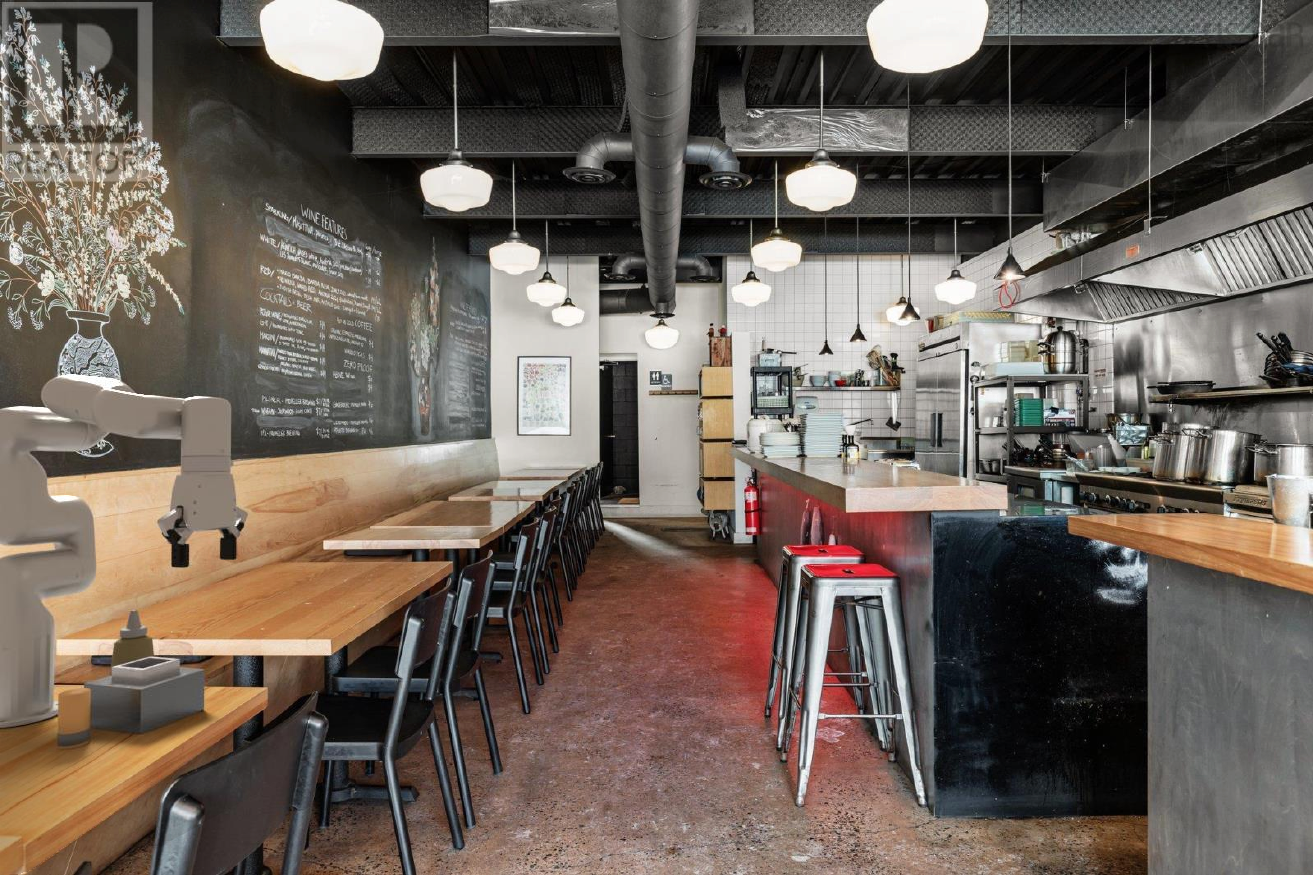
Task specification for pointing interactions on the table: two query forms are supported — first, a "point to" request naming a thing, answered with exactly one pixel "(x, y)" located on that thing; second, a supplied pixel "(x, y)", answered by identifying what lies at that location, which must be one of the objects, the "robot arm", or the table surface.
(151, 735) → the table surface
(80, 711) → the orange cylinder
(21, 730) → the table surface
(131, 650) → the squeeze bottle
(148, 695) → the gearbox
